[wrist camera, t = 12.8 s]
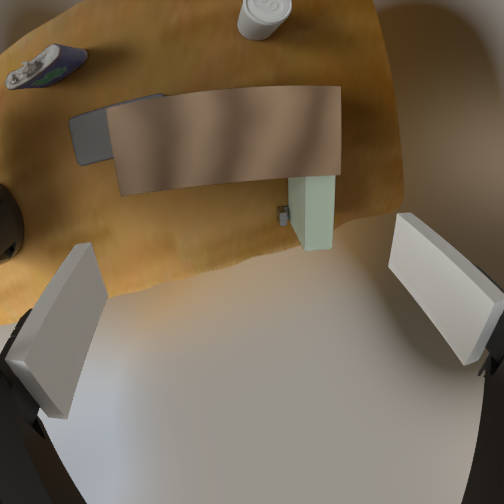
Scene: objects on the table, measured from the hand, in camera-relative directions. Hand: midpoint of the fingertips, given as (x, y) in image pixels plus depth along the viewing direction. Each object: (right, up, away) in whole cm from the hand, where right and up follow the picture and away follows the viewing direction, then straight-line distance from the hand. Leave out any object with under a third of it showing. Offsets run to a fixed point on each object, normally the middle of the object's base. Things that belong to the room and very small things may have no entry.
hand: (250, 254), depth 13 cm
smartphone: (-18, +17, +26) cm, 36 cm away
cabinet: (-4, +17, +27) cm, 32 cm away
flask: (-27, +26, +20) cm, 42 cm away
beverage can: (0, +30, +21) cm, 36 cm away
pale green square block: (+7, +10, +32) cm, 34 cm away
